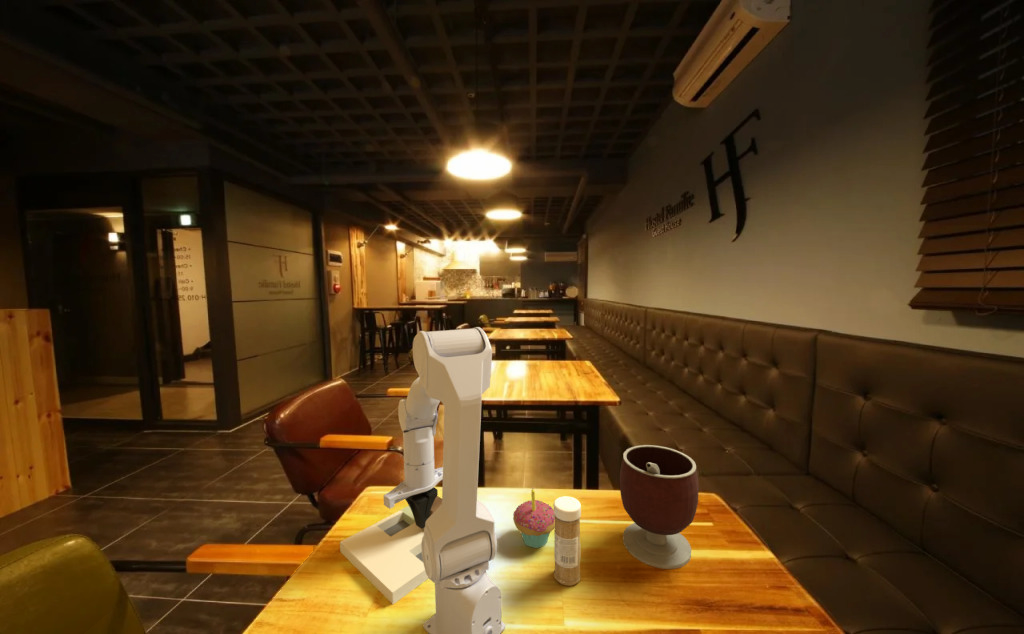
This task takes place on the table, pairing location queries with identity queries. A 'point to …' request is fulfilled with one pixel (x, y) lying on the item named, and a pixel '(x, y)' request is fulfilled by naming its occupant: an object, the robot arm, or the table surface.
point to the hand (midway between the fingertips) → (421, 525)
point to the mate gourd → (658, 504)
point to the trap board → (389, 554)
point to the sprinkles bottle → (567, 540)
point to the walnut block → (435, 505)
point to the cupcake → (534, 521)
